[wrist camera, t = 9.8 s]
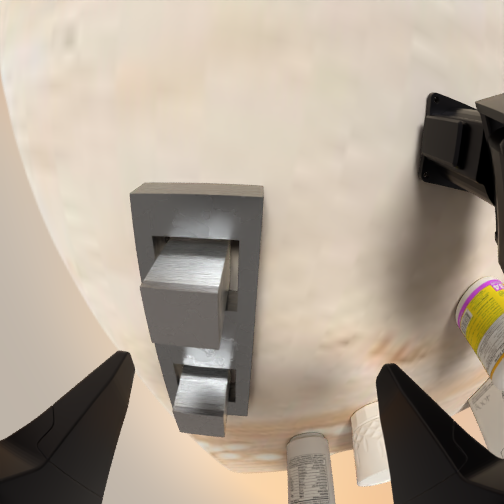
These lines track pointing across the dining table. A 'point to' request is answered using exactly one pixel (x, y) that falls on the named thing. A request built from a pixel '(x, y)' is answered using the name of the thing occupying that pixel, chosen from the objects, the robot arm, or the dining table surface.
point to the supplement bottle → (485, 325)
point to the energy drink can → (309, 470)
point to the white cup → (369, 447)
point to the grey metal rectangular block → (188, 292)
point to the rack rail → (212, 227)
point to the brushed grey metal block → (202, 400)
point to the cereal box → (490, 416)
